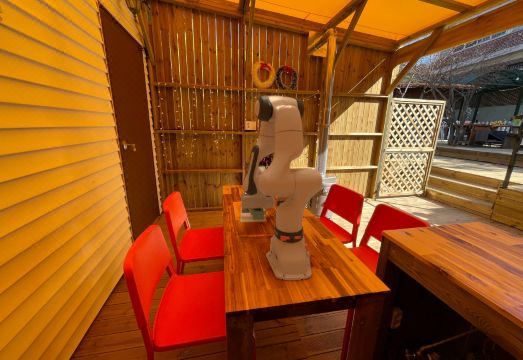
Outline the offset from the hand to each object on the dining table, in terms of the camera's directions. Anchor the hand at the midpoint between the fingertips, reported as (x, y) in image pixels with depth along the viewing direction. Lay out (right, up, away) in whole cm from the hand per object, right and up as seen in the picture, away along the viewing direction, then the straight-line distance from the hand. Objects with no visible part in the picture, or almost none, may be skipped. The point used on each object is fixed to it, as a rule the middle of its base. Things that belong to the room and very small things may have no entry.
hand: (258, 214), depth 127 cm
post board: (-3, -2, +6) cm, 7 cm away
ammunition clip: (+18, +2, +19) cm, 26 cm away
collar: (0, -2, 0) cm, 2 cm away
